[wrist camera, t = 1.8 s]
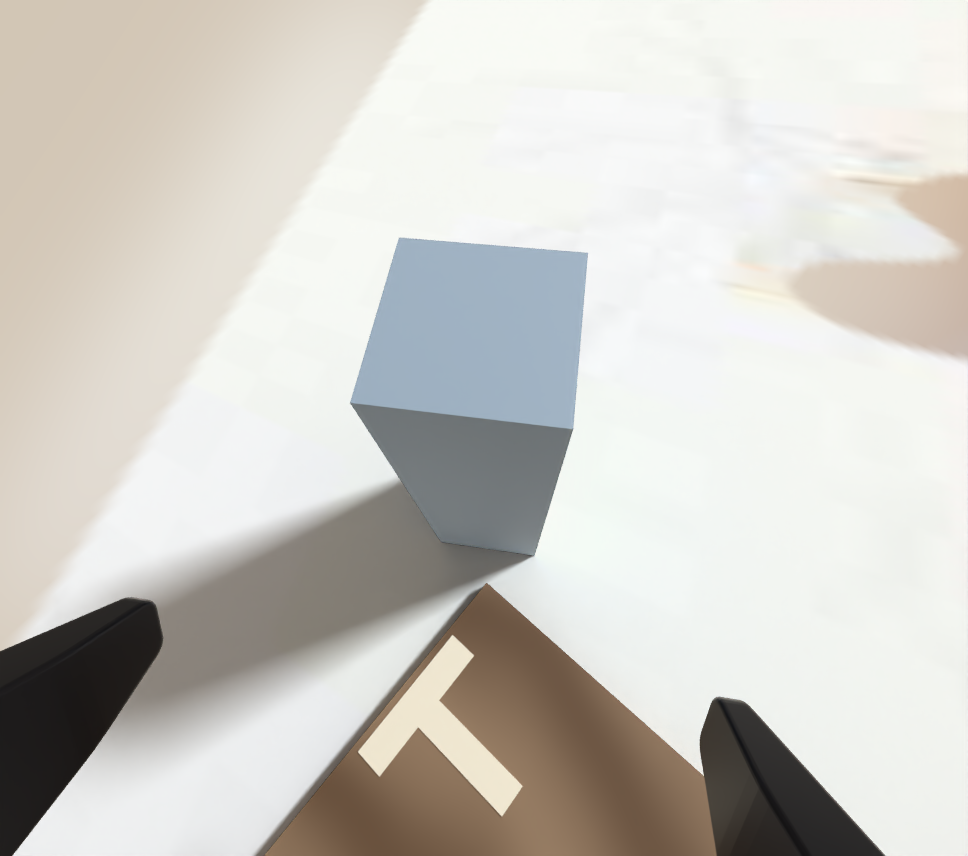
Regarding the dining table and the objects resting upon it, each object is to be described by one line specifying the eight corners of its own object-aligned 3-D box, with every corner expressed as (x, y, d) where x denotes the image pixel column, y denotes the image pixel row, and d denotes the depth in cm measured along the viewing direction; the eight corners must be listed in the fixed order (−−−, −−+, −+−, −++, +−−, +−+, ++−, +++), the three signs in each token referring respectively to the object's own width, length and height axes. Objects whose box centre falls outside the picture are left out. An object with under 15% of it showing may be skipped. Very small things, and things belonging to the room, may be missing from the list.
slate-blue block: (534, 555, 20) (572, 429, 8) (440, 541, 21) (350, 402, 9) (543, 466, 22) (587, 252, 10) (457, 455, 22) (398, 237, 10)
